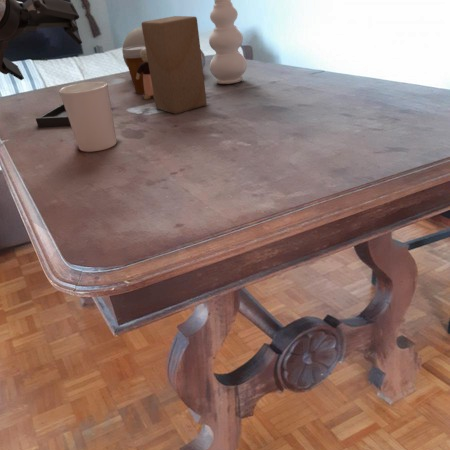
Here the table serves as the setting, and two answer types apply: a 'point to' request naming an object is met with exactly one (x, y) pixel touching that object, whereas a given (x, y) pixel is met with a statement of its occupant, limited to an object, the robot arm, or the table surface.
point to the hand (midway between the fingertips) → (48, 55)
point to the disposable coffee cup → (135, 66)
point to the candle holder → (90, 115)
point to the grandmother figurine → (145, 75)
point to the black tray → (54, 117)
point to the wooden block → (175, 63)
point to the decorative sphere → (133, 39)
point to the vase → (226, 44)
